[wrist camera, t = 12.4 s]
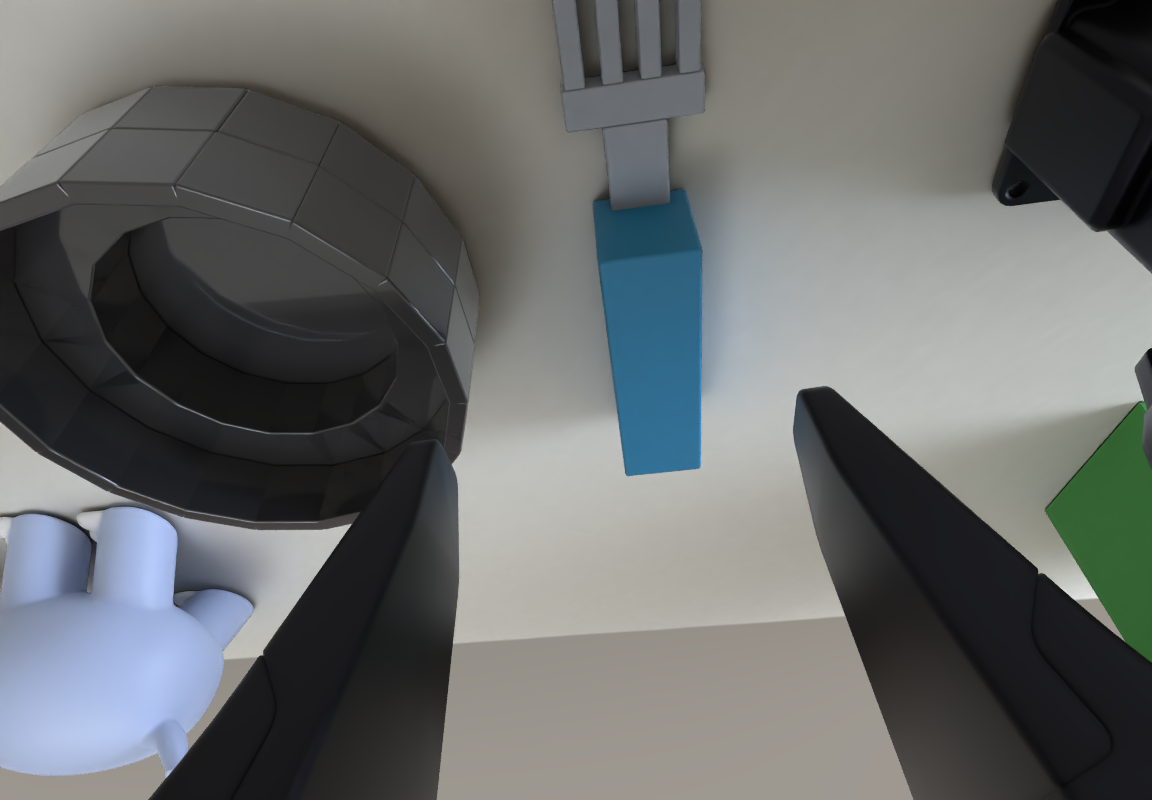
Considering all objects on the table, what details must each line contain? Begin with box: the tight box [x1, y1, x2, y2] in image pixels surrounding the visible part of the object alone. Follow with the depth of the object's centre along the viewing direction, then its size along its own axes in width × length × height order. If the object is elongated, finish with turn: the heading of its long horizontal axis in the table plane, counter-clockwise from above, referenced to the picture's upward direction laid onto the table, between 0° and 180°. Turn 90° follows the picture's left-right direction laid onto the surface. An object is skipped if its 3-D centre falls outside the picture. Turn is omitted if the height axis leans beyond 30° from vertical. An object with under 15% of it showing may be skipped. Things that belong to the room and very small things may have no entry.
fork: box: [552, 0, 705, 476], centre depth 18 cm, size 16×3×3 cm, turn 8°
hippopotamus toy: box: [0, 507, 254, 778], centre depth 29 cm, size 11×15×10 cm
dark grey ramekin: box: [0, 86, 480, 530], centre depth 18 cm, size 12×12×5 cm
